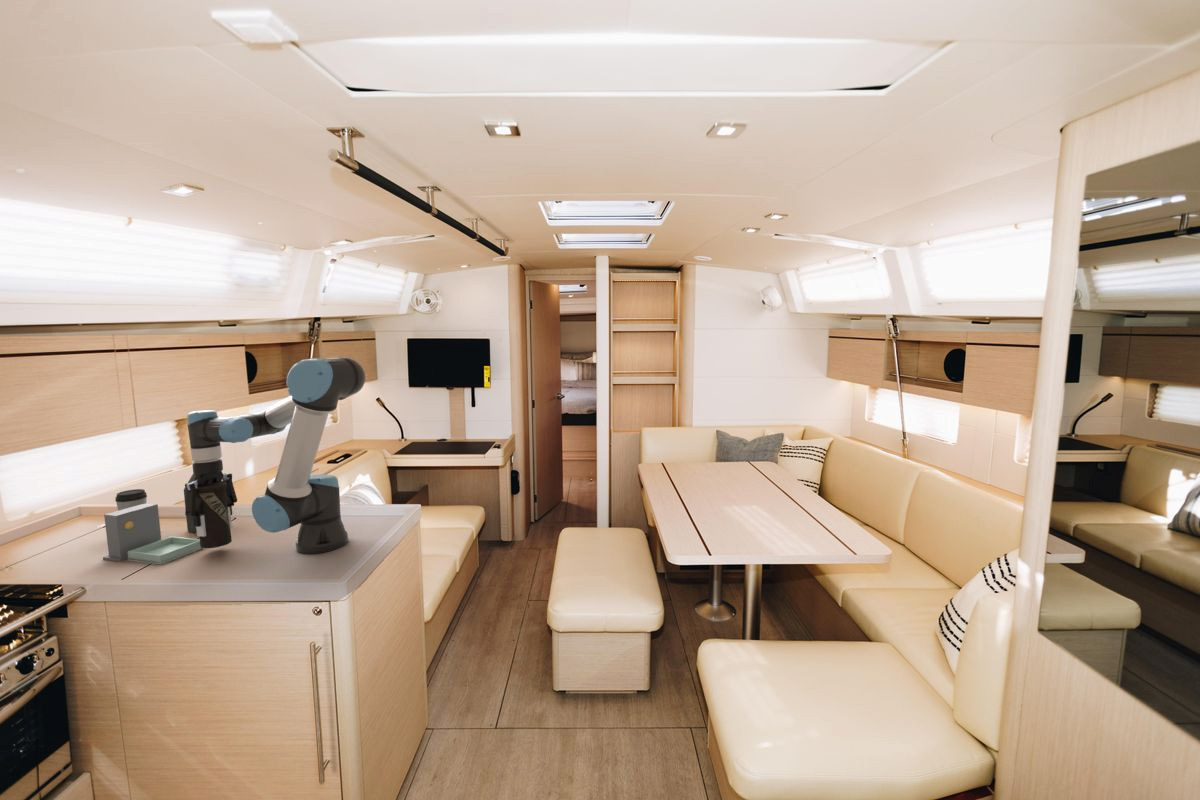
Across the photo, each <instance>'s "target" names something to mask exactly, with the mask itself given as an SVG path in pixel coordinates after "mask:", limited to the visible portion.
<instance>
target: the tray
mask: <svg viewBox="0 0 1200 800" xmlns="http://www.w3.org/2000/svg"><path fill="white" fill-rule="evenodd" d="M202 549H204V548H201V546H200V538H192V537H191V538H190V537H181V536H172V535H171V536H168V537H166V538H163V539H162V538H161V540H160V541H157V542H154V543H151V544H148V545H145V546H142V547H139V548H136V549H134V550H131V551H128V559H127V561H131V562H137V563H138V562H139V563H146V564H152V565H153V564H154V565H161V566H162V565H164V564H166V563H169V562H171V561H174V560H177V559H180V558H182V557H185V556H187V555H190V554H192V553H194V552H197V551H200V550H202Z"/></svg>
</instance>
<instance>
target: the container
mask: <svg viewBox="0 0 1200 800" xmlns="http://www.w3.org/2000/svg"><path fill="white" fill-rule="evenodd" d="M196 486H197V485H196ZM226 487H227V483H226V482H224V481H223V480H222V481H221V482H218V483H217V482H214V483H212V484H211V485H207V486H206V485H205V486H202V487H201V486H197V488H196V497H197V498H202V499H203V510H202V513H201V515H204V519H205V528H206V536H204V537H202V536H198V537H199V538H198V539H200V546H201V548H203V549H217V548H220V547H225V546H226V545H229V544H231V543H232V541H233V539H232V532H231V527H230V522H229V515H228V507H227V499H226V491H225V488H226Z"/></svg>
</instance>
